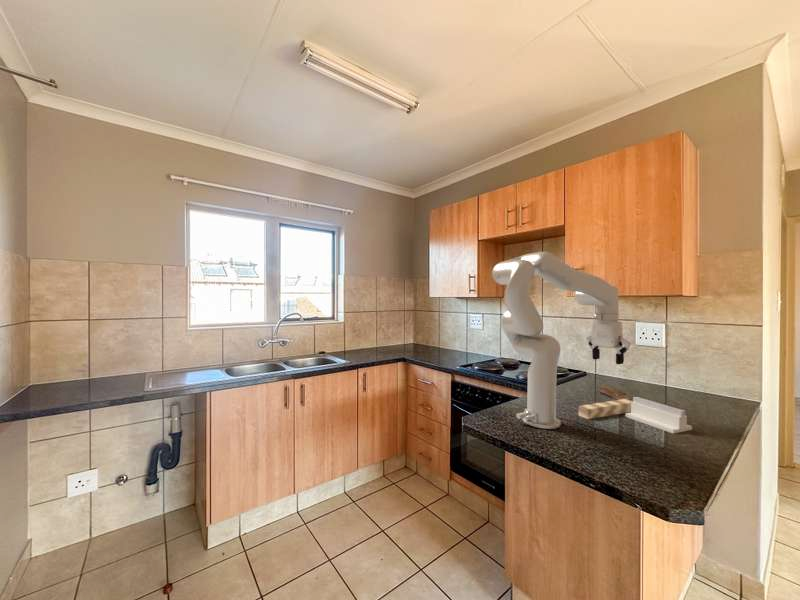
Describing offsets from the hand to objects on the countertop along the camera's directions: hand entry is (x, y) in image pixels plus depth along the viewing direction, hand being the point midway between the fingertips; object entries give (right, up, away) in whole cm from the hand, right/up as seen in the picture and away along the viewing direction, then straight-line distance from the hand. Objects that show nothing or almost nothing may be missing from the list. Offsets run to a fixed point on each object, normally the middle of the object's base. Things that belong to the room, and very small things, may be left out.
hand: (607, 361), depth 127 cm
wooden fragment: (+20, -21, +28) cm, 40 cm away
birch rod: (0, -21, 0) cm, 21 cm away
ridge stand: (+12, -21, -9) cm, 26 cm away
